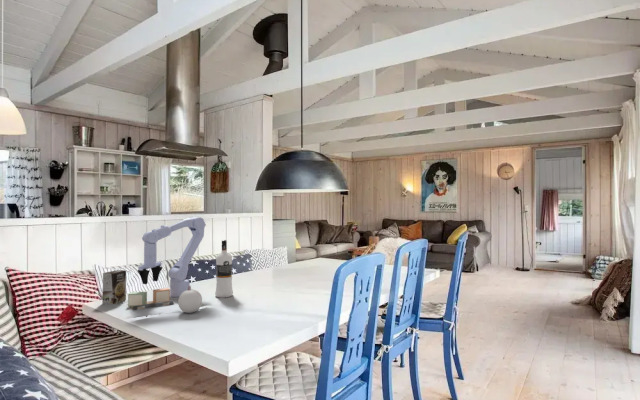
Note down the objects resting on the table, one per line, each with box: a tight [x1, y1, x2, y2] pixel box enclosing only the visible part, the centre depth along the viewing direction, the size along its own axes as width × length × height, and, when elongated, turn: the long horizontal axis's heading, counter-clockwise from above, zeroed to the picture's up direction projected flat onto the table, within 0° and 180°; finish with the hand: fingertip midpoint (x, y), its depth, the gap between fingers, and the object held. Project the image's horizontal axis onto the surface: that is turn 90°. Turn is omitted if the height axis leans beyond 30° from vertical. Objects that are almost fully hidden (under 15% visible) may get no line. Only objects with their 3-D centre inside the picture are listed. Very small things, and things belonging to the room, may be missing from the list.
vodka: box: [214, 239, 234, 299], centre depth 206 cm, size 9×9×30 cm
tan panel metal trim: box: [127, 300, 174, 311], centre depth 184 cm, size 18×13×3 cm
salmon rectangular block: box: [152, 287, 171, 303], centre depth 189 cm, size 4×7×6 cm, turn 127°
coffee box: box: [102, 269, 127, 305], centre depth 190 cm, size 9×6×16 cm
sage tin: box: [127, 291, 148, 308], centre depth 182 cm, size 4×7×6 cm, turn 92°
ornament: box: [177, 285, 203, 314], centre depth 174 cm, size 10×10×12 cm
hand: (150, 282), depth 193 cm, fingers open, 7 cm apart
